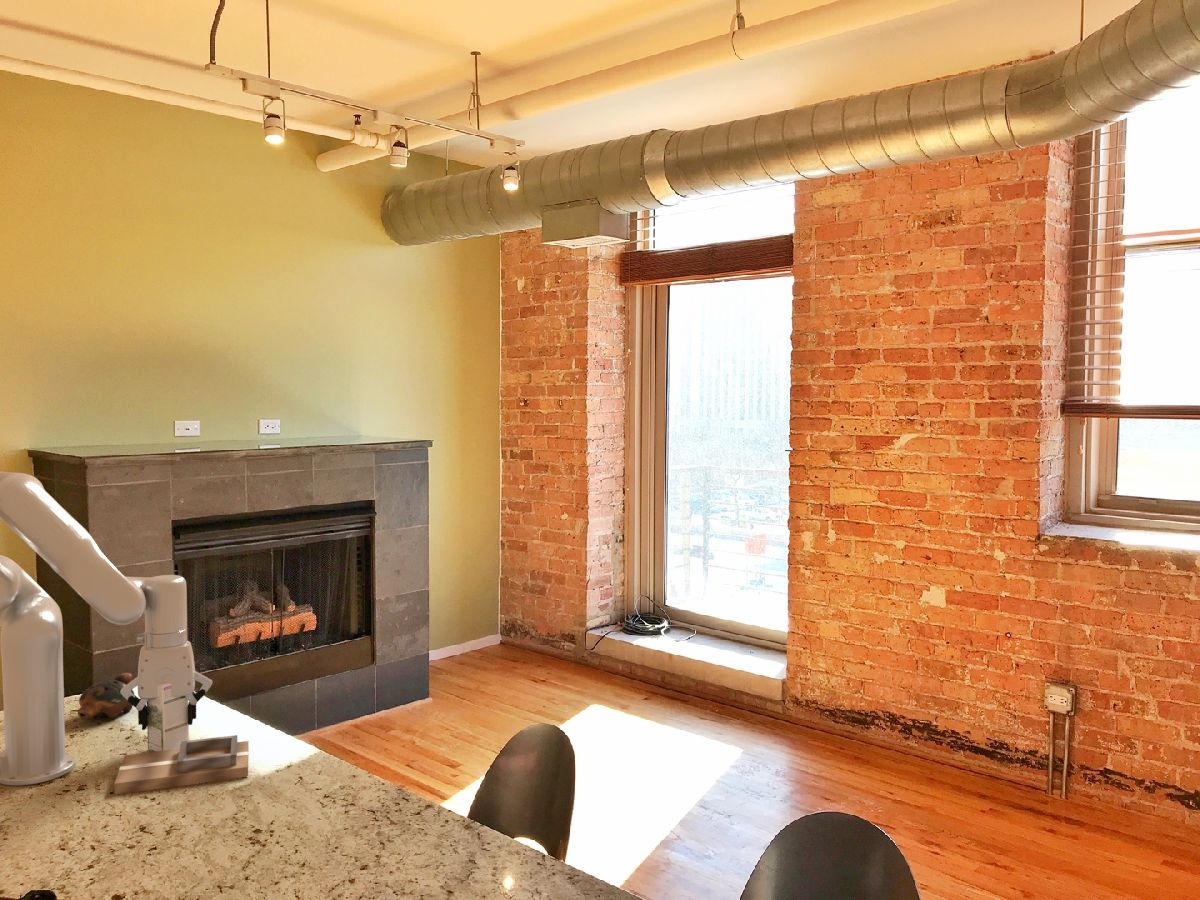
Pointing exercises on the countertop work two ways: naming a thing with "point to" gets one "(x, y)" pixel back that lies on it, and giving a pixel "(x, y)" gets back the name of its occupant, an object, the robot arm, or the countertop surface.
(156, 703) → the syrup box
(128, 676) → the decorative turtle
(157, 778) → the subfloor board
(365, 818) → the countertop surface
